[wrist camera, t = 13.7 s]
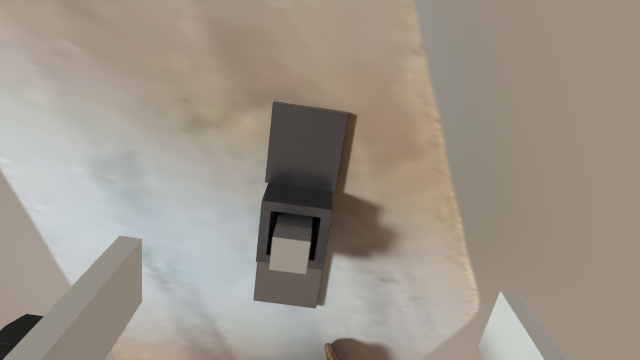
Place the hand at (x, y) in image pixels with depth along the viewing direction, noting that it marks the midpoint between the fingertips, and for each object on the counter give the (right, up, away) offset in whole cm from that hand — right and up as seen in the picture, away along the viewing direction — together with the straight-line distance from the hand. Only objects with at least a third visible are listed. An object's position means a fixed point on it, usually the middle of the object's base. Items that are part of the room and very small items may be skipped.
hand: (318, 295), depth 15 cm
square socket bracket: (-3, 0, +33) cm, 33 cm away
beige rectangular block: (-3, 0, +33) cm, 33 cm away
